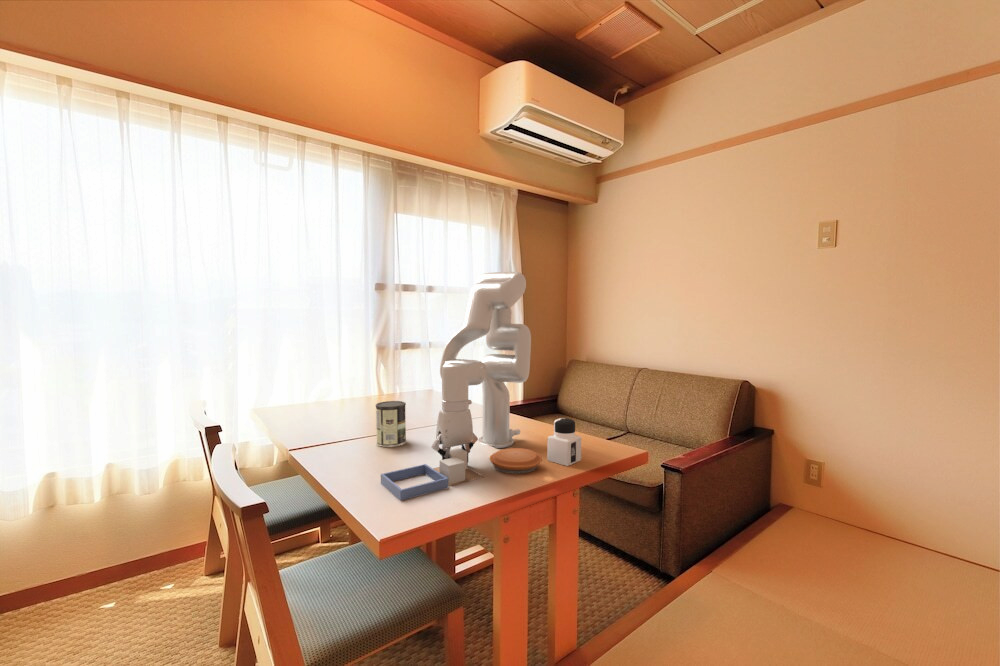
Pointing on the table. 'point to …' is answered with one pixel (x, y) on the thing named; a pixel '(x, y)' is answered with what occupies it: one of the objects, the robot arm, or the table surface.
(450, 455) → the white block
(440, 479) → the rectangular frame
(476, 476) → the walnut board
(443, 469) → the pale white cube
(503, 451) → the pie
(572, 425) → the container
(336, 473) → the table surface
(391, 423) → the coffee can
